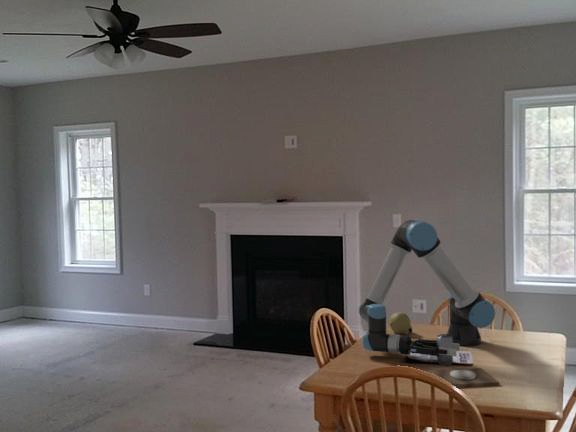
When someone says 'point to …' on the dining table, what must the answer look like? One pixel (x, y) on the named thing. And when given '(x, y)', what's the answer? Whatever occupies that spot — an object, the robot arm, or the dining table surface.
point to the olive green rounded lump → (400, 323)
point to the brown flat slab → (467, 377)
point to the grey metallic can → (445, 342)
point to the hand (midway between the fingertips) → (457, 349)
